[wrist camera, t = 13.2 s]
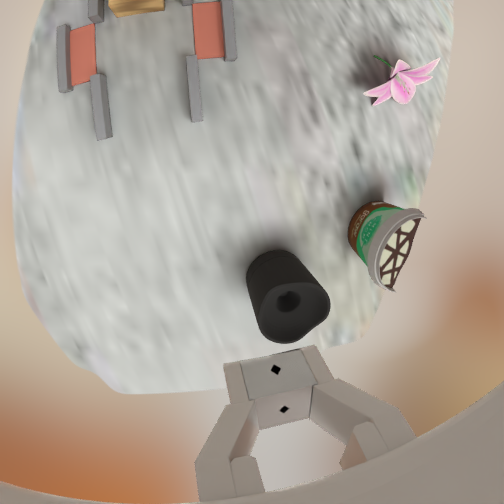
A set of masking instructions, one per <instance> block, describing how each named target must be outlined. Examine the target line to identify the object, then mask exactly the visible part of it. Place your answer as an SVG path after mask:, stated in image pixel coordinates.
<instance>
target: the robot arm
mask: <svg viewBox="0 0 504 504" xmlns="http://www.w3.org/2000/svg"><path fill="white" fill-rule="evenodd" d="M223 366H224V373H225V378H226V383H227V388H228V393H229V398H230V403H231V404H229V405H226V406H225V408H224V410H223V412H222V414H221V415H220V417H219V419H218V421H217V423H216V425H215V426H214V428H213V430H212V432H211V434H210V435H209V437H208V439H207V441H206V443H205V445H204V446H203V448H202V450H201V452H200V453H199V455H198V457H197V459H196V460H195V470H196V478H197V486H198V493H199V500H200V502H194V503H179V504H504V381H503V382H502V383H500V384H499V385H498V386H497V387H495V388H494V389H493V390H491V391H490V392H489V393H487V394H486V395H485V396H483V397H482V398H481V399H479V400H478V401H476V402H475V403H473V404H472V405H470V406H469V407H468V408H466V409H465V410H463V411H462V412H460V413H459V414H457V415H455V416H454V417H452V418H451V419H449V420H447V421H446V422H444V423H442V424H441V425H439V426H437V427H436V428H434V429H432V430H430V431H429V432H427V433H425V434H423V435H421V436H419V437H416V435H415V434H414V432H413V431H412V429H411V427H410V426H409V424H408V423H407V421H406V420H405V418H404V417H403V415H402V414H401V412H400V411H399V409H398V408H397V407H395V406H393V405H391V404H389V403H387V402H385V401H383V400H380V399H379V398H377V397H375V396H372V395H370V394H368V393H366V392H364V391H362V390H360V389H359V388H356V387H355V386H353V385H351V384H349V383H347V382H345V381H343V380H341V379H334V378H333V376H332V374H331V372H330V370H329V369H328V367H327V365H326V363H325V361H324V360H323V358H322V356H321V354H320V352H319V350H318V349H317V347H316V346H315V345H311V346H307V347H303V348H299V349H294V350H290V351H286V352H282V353H277V354H273V355H269V356H265V357H259V358H254V359H248V360H242V361H237V362H231V363H224V364H223ZM307 418H309V419H310V420H311V421H313V422H314V423H315V424H317V425H318V426H319V427H321V428H322V429H324V430H325V431H326V432H328V433H329V434H331V435H332V436H333V437H335V438H336V439H338V440H339V441H340V442H342V443H343V444H345V445H346V449H345V451H344V453H343V456H342V458H341V460H340V465H341V467H342V471H340V472H337V473H335V474H331V475H328V476H325V477H322V478H319V479H315V480H312V481H309V482H305V483H301V484H298V485H294V486H290V487H286V488H282V489H278V490H274V491H269V492H265V489H264V486H263V483H262V479H261V476H260V472H259V469H258V465H257V462H256V458H254V457H252V456H250V454H251V452H252V449H253V447H254V444H255V441H256V439H257V436H258V433H259V430H262V429H266V428H270V427H274V426H278V425H282V424H286V423H290V422H295V421H298V420H303V419H307ZM0 504H123V503H109V502H98V501H89V500H81V499H74V498H68V497H62V496H57V495H52V494H47V493H42V492H38V491H34V490H30V489H26V488H22V487H18V486H15V485H12V484H8V483H5V482H2V481H0Z"/></svg>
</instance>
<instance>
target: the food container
mask: <svg viewBox="0 0 504 504" xmlns="http://www.w3.org/2000/svg"><path fill="white" fill-rule="evenodd" d="M421 218H426V217H424V214H423V213H422V212H421V211H420V210H419V209H415V208H409V209H402V208H400V207H397V206H394V205H391V204H388V203H385V202H381V201H374V202H369V203H367V204H365V205H364V206H362V207H361V208H360V209H359V210H358V211H357V212H356V213H355V214H354V216H353V217H352V219H351V221H350V224H349V228H348V240H349V243H350V245H351V247H352V249H353V250H354V251H355V252H356V253H357V254H358V256H359V257H360V258H361V259H362V260H363V262H364V263H365V264H366V265H367V267H368V271H369V275H370V277H371V279H372V280H373V281H374V282H375V283H376V284H377V285H378V286H380V287H382V288H384V289H386V290H388V291H392V292H395V290H394V289H393V288H392V287H393V285H394V284H395V281H396V278H397V276H398V274H399V272H400V270H401V268H402V266H403V265H404V263H405V261H406V259H407V257H408V255H409V253H410V250H411V246H412V242H413V239H414V236H415V233H416V230H417V228H418V225H419V222H420V220H421Z"/></svg>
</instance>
